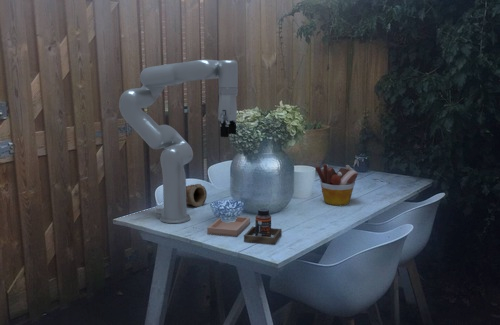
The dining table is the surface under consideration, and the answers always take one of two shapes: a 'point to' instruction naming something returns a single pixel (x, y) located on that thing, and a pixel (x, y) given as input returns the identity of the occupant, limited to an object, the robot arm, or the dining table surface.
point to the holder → (261, 239)
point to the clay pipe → (195, 195)
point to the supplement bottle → (263, 223)
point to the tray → (228, 227)
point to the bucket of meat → (337, 184)
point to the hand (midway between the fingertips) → (228, 135)
